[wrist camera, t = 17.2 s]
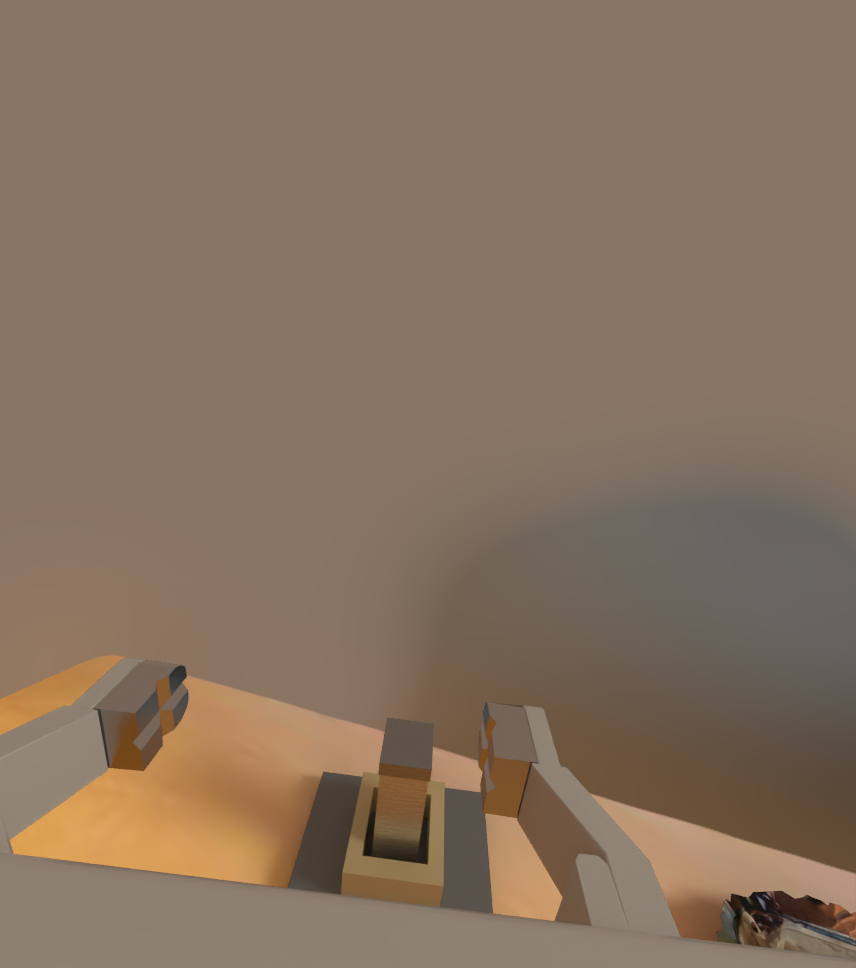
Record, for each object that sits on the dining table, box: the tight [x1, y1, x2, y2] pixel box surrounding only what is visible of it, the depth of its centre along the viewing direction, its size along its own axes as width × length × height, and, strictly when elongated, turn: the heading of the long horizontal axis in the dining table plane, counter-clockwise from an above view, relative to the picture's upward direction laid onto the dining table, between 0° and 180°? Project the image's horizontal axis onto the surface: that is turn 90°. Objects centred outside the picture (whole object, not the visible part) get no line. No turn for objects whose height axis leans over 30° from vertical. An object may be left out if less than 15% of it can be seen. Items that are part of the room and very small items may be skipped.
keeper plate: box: [288, 772, 493, 914], centre depth 34 cm, size 16×11×4 cm
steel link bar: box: [372, 718, 434, 863], centre depth 32 cm, size 4×4×12 cm
